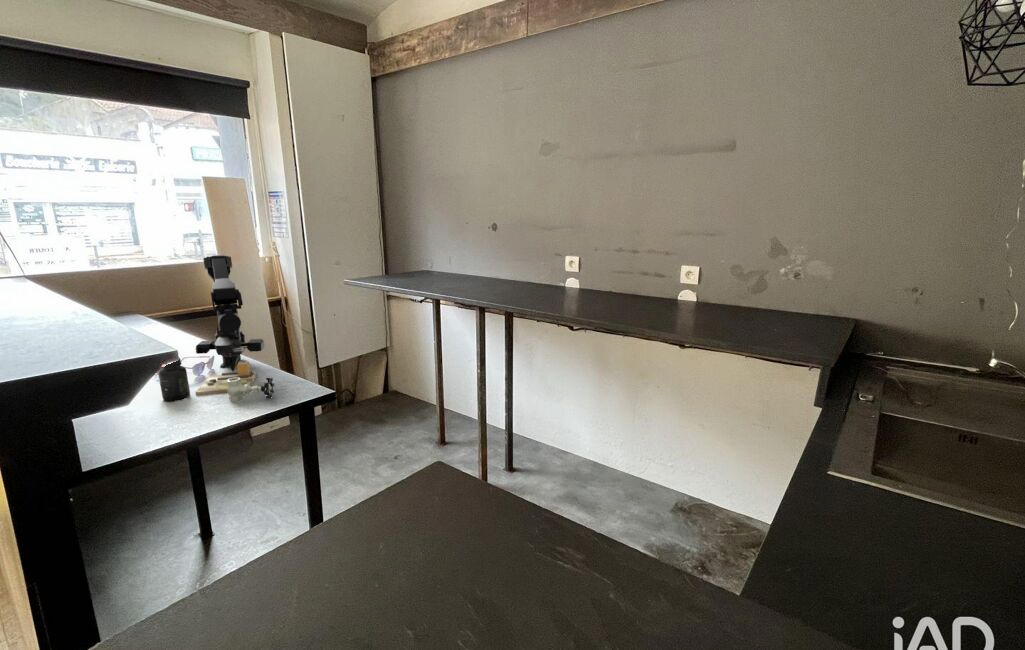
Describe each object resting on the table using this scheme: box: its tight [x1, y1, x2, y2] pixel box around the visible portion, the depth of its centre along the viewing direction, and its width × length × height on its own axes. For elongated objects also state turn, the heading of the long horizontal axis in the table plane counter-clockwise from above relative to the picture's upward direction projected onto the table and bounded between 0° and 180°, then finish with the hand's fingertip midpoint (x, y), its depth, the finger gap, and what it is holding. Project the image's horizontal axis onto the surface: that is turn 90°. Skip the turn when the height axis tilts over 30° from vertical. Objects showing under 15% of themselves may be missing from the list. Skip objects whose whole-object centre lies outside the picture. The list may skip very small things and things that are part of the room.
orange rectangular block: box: [236, 359, 251, 376], centre depth 160 cm, size 3×3×5 cm
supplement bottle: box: [158, 357, 191, 403], centre depth 143 cm, size 7×7×12 cm
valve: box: [227, 377, 275, 403], centre depth 143 cm, size 7×7×12 cm
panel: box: [194, 369, 258, 397], centre depth 155 cm, size 16×14×2 cm
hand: (233, 371), depth 159 cm, fingers closed
